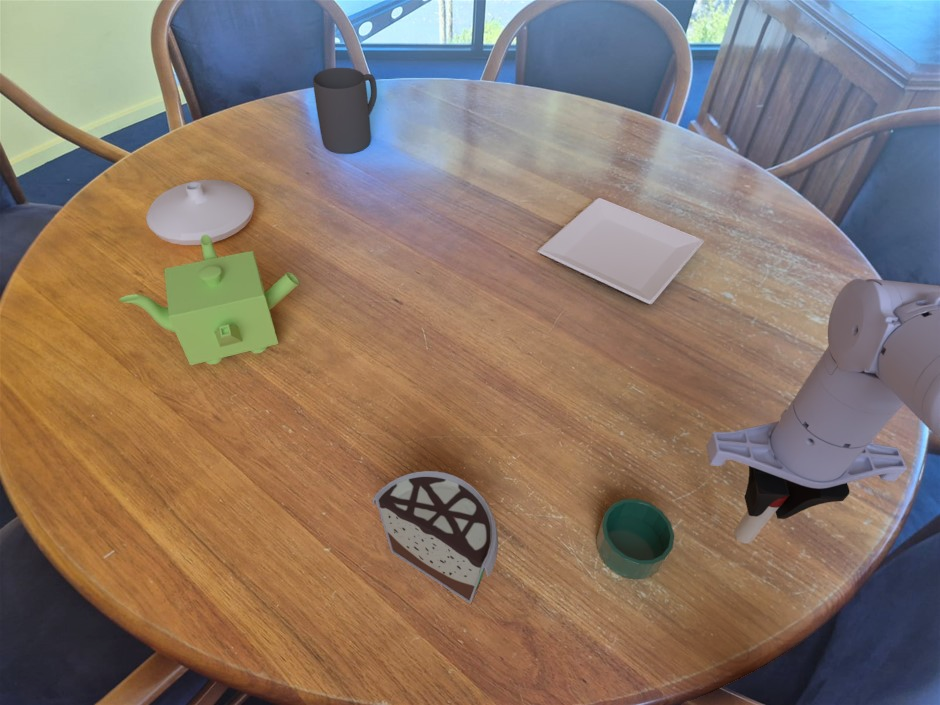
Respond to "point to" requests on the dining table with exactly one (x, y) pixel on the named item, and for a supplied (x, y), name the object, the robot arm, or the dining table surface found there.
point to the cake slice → (440, 529)
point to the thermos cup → (634, 538)
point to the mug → (344, 108)
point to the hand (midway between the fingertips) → (764, 507)
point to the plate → (622, 249)
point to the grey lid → (200, 212)
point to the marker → (755, 522)
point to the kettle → (218, 305)
